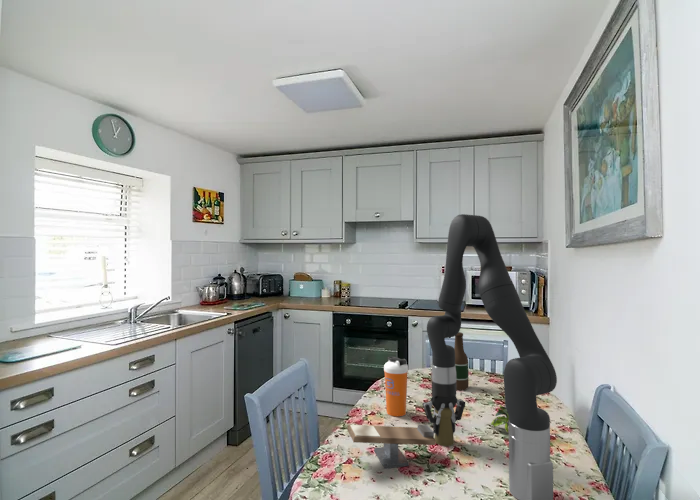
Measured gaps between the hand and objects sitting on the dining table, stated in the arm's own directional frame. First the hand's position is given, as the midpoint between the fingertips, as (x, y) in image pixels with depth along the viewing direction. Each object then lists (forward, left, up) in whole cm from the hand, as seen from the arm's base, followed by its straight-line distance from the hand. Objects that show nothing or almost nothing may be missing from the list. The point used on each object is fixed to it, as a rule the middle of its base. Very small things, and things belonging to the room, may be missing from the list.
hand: (444, 434), depth 126 cm
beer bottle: (+45, -29, -3) cm, 54 cm away
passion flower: (+1, -25, -3) cm, 25 cm away
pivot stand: (-6, +20, -2) cm, 21 cm away
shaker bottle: (+25, +7, -3) cm, 26 cm away
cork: (0, 0, -2) cm, 2 cm away
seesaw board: (-6, +20, +4) cm, 21 cm away
